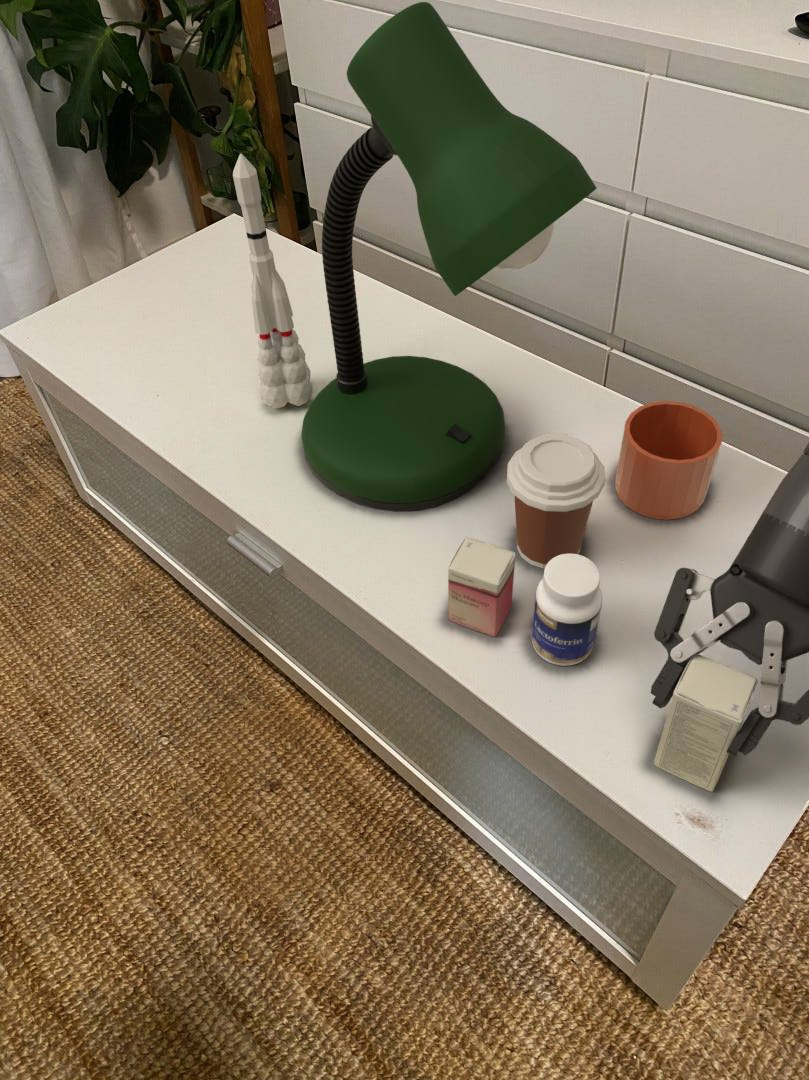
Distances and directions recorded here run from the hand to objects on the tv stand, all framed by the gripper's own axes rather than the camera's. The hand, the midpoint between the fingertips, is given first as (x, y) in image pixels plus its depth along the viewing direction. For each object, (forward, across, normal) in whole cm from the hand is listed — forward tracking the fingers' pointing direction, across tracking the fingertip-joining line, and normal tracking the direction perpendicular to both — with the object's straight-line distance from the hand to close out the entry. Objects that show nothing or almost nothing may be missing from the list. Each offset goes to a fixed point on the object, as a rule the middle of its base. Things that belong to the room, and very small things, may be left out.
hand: (695, 728), depth 65 cm
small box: (+4, -23, +7) cm, 24 cm away
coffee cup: (-4, -23, +15) cm, 27 cm away
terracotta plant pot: (-14, -19, +24) cm, 34 cm away
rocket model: (-3, -62, +14) cm, 63 cm away
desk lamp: (-6, -41, +16) cm, 45 cm away
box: (+4, 0, +6) cm, 8 cm away
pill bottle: (+2, -15, +8) cm, 17 cm away
